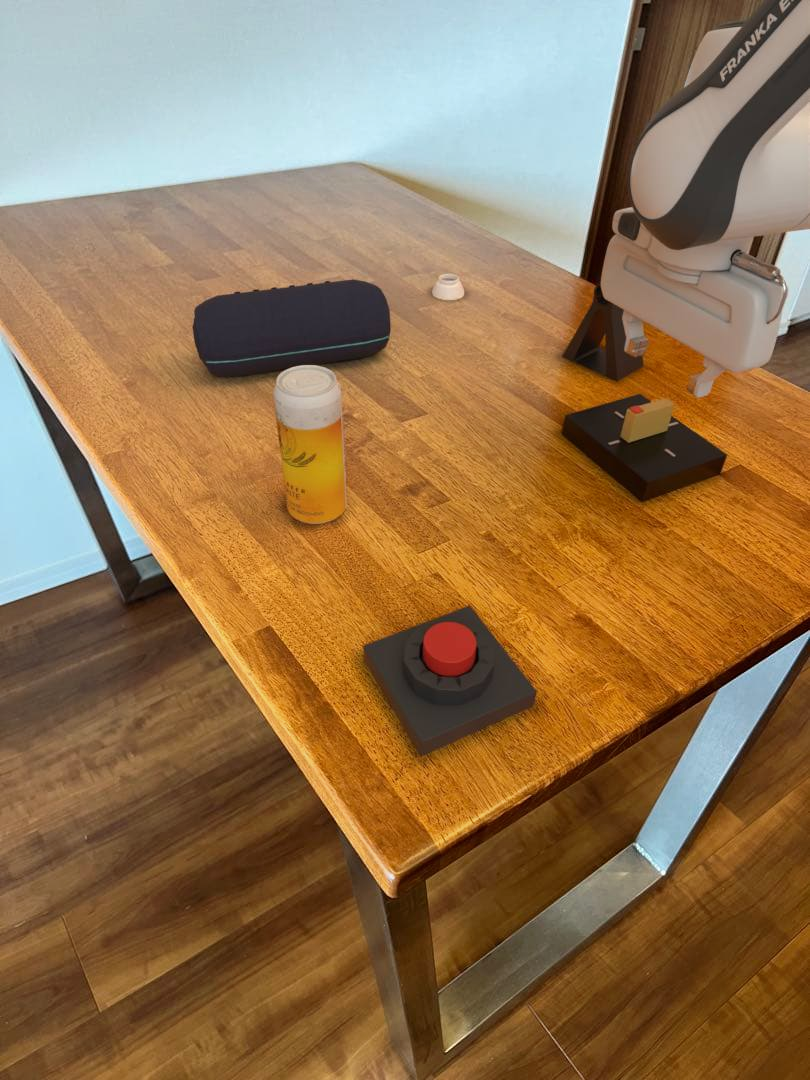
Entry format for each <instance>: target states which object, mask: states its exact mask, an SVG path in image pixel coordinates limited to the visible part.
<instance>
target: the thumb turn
mask: <svg viewBox="0 0 810 1080" xmlns="http://www.w3.org/2000/svg"><path fill="white" fill-rule="evenodd" d="M675 406H676V403H675V402H673V401H672V400H671V399H669V398H667V397H664V398H661V399H657V400H653V401H651V403H647V404H644V405H640V406H633V407H630V409H627V412H626V416H625V420H624V424H623V428H622V432H621V436H620V437H621V438H623V439H624V440H625V441H627V442H628V443H629V442H633V441H636V440H639V439H642V438H646V437H649V436H652V435H655V434H658V433H662V432H665V431H667V429H668V426H669V423H670V419H671V416H673V412H674V409H675Z"/></svg>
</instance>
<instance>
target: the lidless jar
mask: <svg viewBox="0 0 810 1080" xmlns="http://www.w3.org/2000/svg"><path fill="white" fill-rule="evenodd" d="M431 295H432V296H433V297H434V298H436V299H438V300H441V301H456V300H460V299H462V298H463V297H464V296H465V289H464V286H463V284H462V281H460V277H459V276H458V275H456V274H454V273H443V274H441V275H439V276H438V279H437V280H436V282H435V283H434V285H433V287H432V289H431Z"/></svg>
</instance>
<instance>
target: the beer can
mask: <svg viewBox="0 0 810 1080" xmlns="http://www.w3.org/2000/svg"><path fill="white" fill-rule="evenodd" d="M275 380H276V381H275V382H276V383H275V385H274V388H273V391H272V395H273V402H274V403H273V405H274V412H275V419H276V427H277V436H278V444H279V452H280V453H279V454H280V459H281V469H282V476H283V477H282V479H283V484H284V486H283V487H284V493H285V502H286V509H287V511H288V513H289V515H290V516H291V517H293V518H294V519H296V520H297V521H300V522H301V523H305V524H310V525H322V524H327V523H330V522H332V521H334V520H336V519H337V518H339V517H340V516H341V515H343V513H344V512H345V511H346V509H347V506H348V493H347V492H348V491H347V473H346V455H345V454H346V453H345V435H344V415H343V394H342V386H341V384H340V383H339V381H338V380H337V376H336V373H335V372H333V370H331V369H329V368H327V367H325V366H320V365H301V366H296V367H292V368H289V369H284V370H282V371H281V372H280V373H279V374H278V376H277V377H276V379H275Z"/></svg>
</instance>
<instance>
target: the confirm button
mask: <svg viewBox="0 0 810 1080" xmlns="http://www.w3.org/2000/svg"><path fill="white" fill-rule="evenodd" d="M475 653H476V638H475V636H474V634H473V633H472V632H471V631H470V630H469V629H468V628H467V627H465V626H463V625H461V624H458V623H454V622H443V623H439V624H436V625H434V626H432V627H431V628H430V629H429V630H428V631H427V632H426V634H425V636H424V640H423V660H424V662H425V664H426V666H427V667H428V668H429V669H430V670H431V671H432V672H434V673H436V674H438V675H441V676H446V677H455V676H459V675H462V674H464V673H466V672H467V671H468V670H469V669H470V668H471V667H472V666H473V664H474V660H475Z"/></svg>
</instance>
